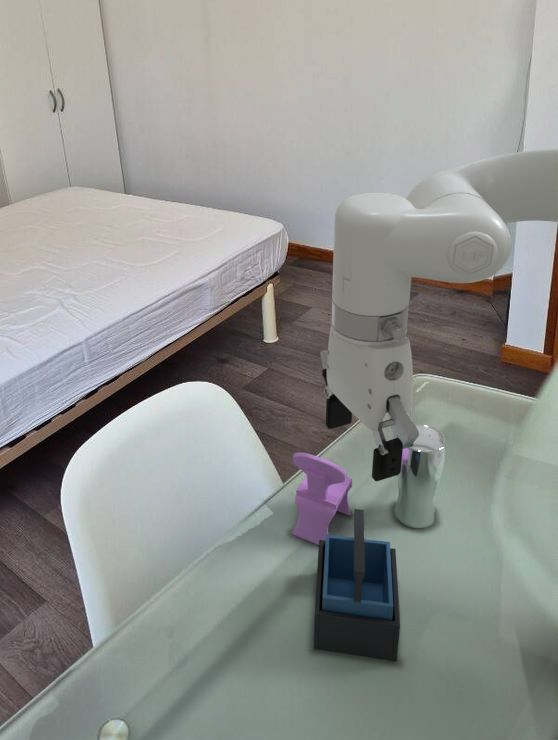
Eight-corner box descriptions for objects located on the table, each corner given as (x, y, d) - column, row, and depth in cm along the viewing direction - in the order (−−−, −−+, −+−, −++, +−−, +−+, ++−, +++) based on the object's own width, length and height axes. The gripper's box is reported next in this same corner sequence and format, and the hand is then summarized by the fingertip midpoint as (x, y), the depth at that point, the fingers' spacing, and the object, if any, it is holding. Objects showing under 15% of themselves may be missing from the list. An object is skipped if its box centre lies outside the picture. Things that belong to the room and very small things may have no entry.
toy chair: (358, 514, 108) (362, 438, 102) (336, 552, 102) (339, 473, 95) (309, 496, 113) (310, 421, 106) (285, 531, 106) (285, 454, 100)
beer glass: (391, 527, 105) (398, 450, 99) (390, 496, 111) (396, 421, 105) (439, 533, 104) (450, 455, 97) (436, 501, 110) (445, 425, 103)
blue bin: (386, 584, 95) (392, 512, 90) (389, 651, 86) (396, 576, 81) (324, 576, 97) (326, 505, 92) (321, 641, 88) (323, 567, 83)
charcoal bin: (392, 583, 96) (395, 548, 93) (396, 662, 86) (400, 626, 83) (318, 573, 99) (319, 539, 96) (313, 649, 88) (314, 613, 85)
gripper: (456, 347, 63) (438, 489, 71) (355, 276, 78) (349, 400, 86) (386, 365, 61) (375, 510, 69) (296, 289, 76) (295, 415, 84)
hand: (361, 449), depth 77 cm, fingers open, 9 cm apart
